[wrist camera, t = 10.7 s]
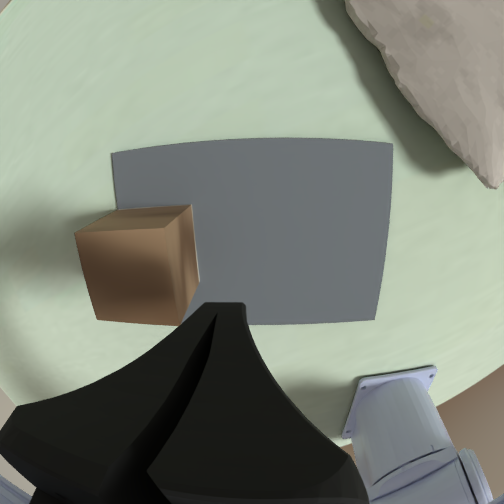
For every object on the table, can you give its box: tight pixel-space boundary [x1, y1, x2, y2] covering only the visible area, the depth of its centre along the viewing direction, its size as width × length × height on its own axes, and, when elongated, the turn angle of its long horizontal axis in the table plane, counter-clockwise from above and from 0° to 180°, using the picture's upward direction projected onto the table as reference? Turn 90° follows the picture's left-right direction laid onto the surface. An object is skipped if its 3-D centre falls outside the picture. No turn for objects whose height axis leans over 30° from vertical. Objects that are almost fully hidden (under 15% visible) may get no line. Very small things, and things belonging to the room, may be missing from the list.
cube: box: [74, 204, 200, 326], centre depth 15 cm, size 5×5×5 cm
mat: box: [112, 138, 393, 325], centre depth 17 cm, size 12×17×1 cm
